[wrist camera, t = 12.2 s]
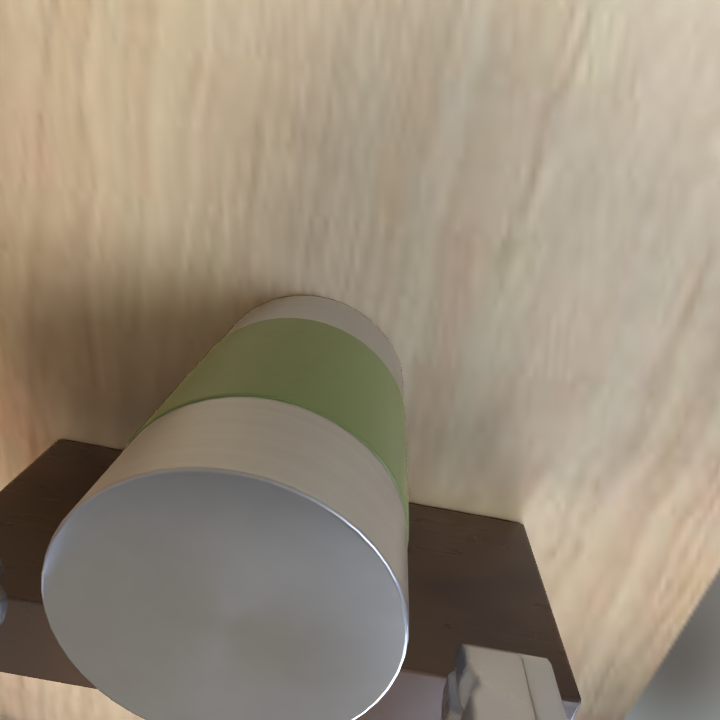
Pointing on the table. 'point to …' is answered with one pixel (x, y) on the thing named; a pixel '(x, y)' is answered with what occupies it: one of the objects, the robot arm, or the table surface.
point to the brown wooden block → (425, 586)
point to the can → (249, 532)
